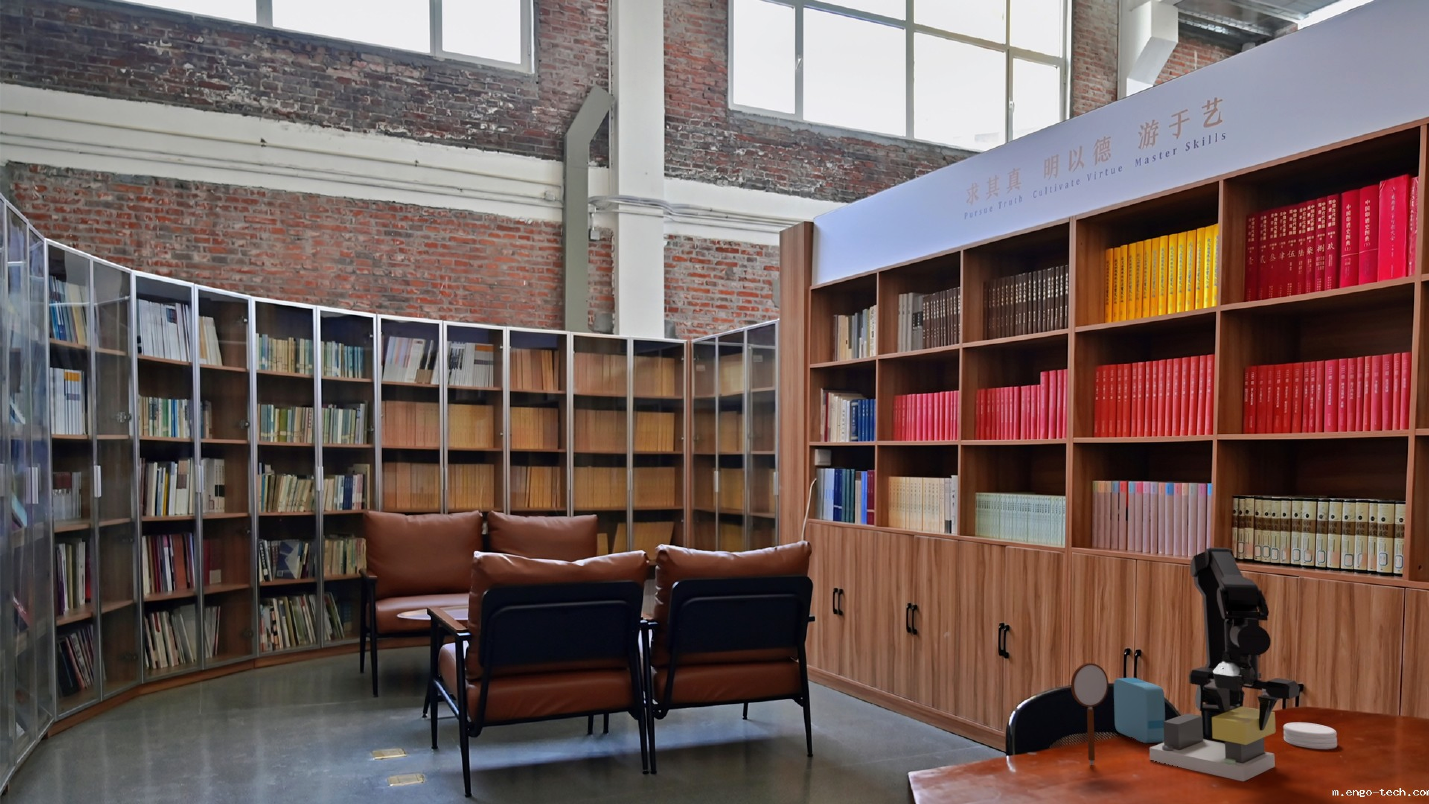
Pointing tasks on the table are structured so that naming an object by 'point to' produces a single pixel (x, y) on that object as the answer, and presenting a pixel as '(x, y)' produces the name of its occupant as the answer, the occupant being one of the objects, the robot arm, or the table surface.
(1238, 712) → the pale yellow pad
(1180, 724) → the block
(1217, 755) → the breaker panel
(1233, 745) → the block
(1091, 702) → the magnifying glass
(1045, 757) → the table surface
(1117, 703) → the data package
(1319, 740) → the coaster
